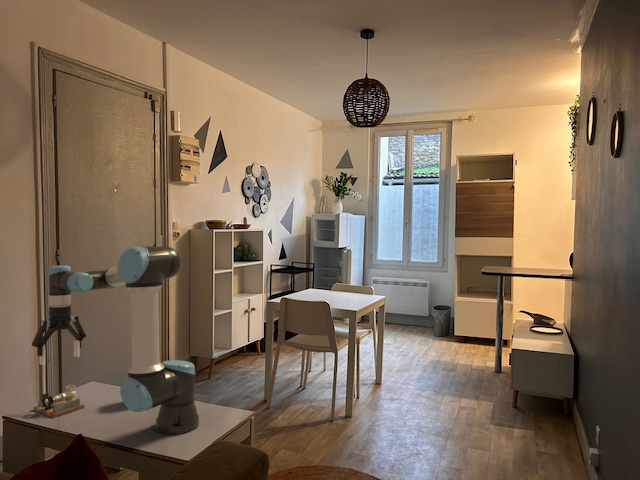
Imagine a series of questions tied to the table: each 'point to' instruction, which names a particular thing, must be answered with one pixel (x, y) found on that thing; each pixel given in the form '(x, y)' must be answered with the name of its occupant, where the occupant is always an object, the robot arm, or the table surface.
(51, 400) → the valve
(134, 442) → the table surface
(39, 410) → the board
